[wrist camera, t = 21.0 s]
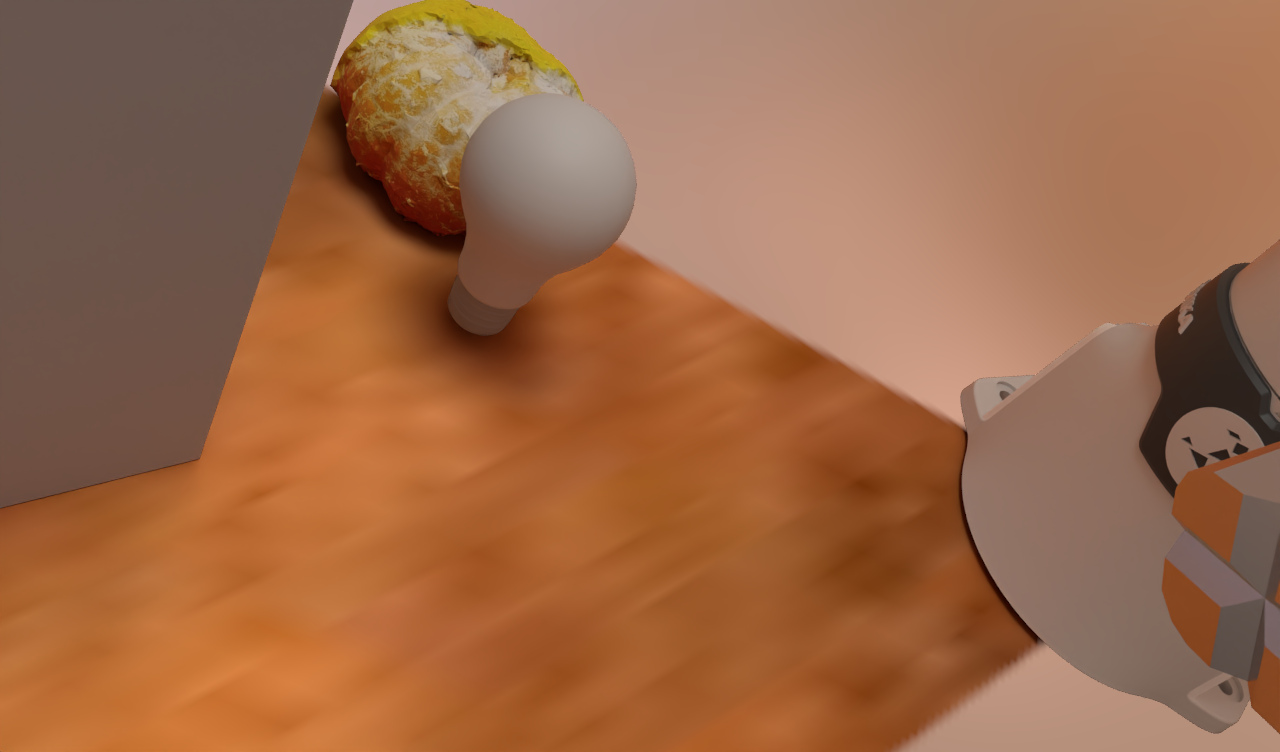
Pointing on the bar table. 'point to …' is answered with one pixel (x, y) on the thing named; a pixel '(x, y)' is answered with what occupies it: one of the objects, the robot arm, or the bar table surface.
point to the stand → (138, 218)
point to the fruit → (435, 98)
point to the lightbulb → (536, 203)
